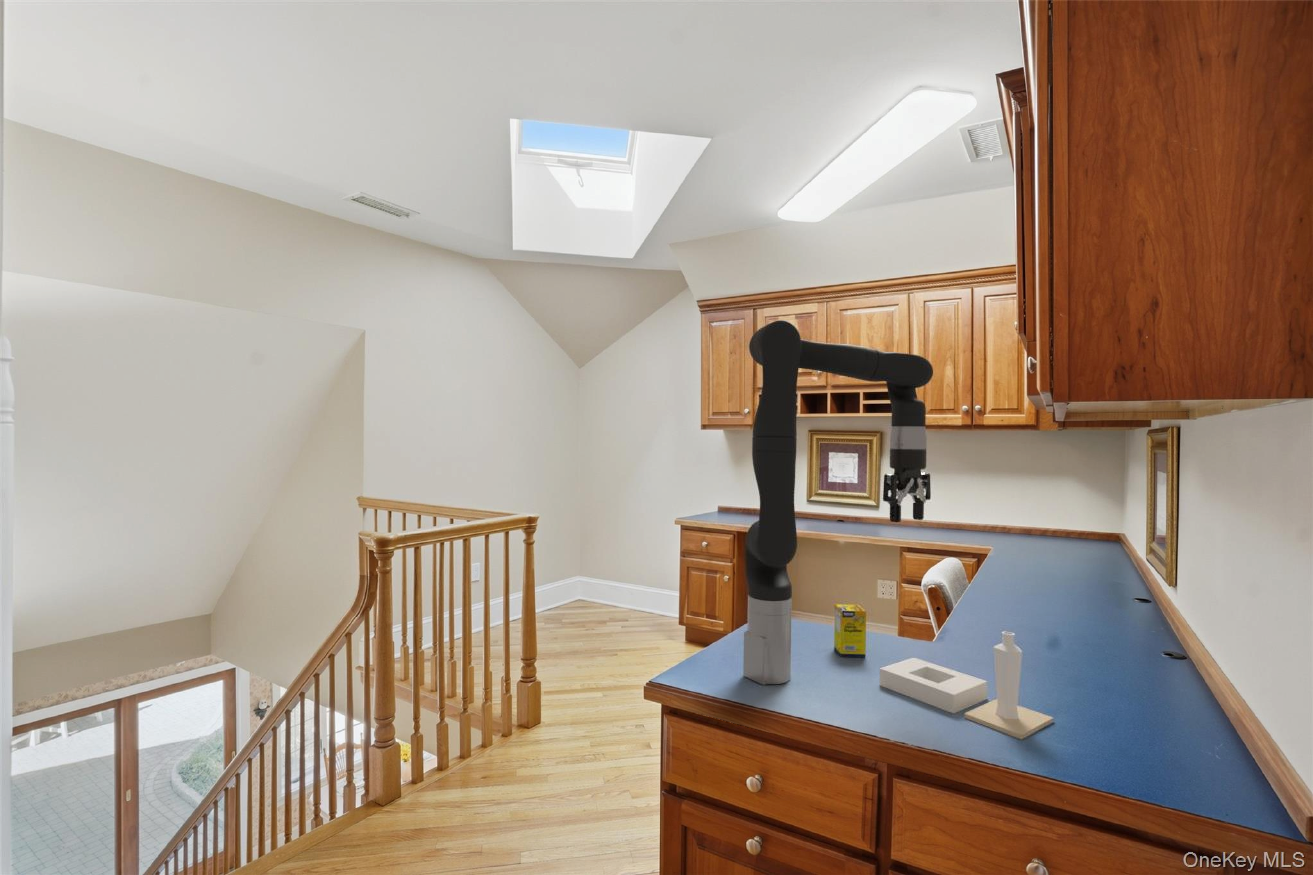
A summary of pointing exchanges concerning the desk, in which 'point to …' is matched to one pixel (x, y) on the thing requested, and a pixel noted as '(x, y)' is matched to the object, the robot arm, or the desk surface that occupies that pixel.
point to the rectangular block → (934, 684)
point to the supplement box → (850, 631)
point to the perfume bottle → (1007, 676)
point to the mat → (1009, 720)
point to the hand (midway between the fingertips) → (907, 520)
